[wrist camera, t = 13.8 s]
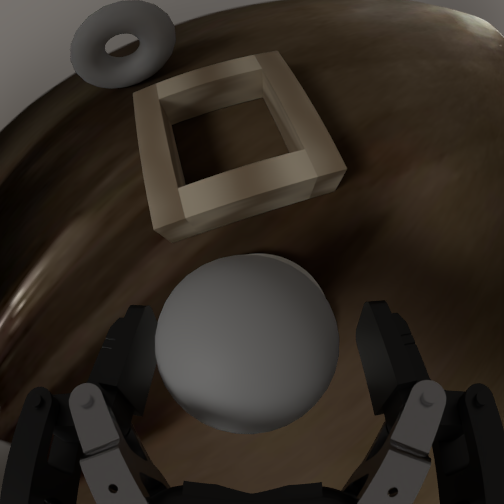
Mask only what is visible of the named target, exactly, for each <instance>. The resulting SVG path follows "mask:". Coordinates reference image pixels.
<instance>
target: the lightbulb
mask: <svg viewBox="0 0 504 504" xmlns="http://www.w3.org/2000/svg"><path fill="white" fill-rule="evenodd" d="M155 355H156V360H157V365H158V369H159V372H160V375H161V377H162V379H163V382H164V384H165V386H166V388H167V389H168V391H169V392H170V394H171V395H172V397H173V398H174V400H175V401H176V402H177V403H178V404H179V405H180V406H181V407H182V408H183V409H184V410H185V411H186V412H187V413H189V414H190V415H191V416H193V417H194V418H196V419H197V420H199V421H200V422H202V423H204V424H206V425H209V426H211V427H213V428H216V429H218V430H222V431H227V432H231V433H239V434H256V433H263V432H269V431H273V430H275V429H278V428H281V427H284V426H287V425H288V424H290V423H292V422H294V421H295V420H297V419H299V418H300V417H302V416H303V415H304V414H305V413H307V412H308V411H309V410H310V409H311V408H312V407H313V406H314V405H315V404H316V403H317V402H318V400H319V399H320V398H321V396H322V395H323V394H324V392H325V391H326V390H327V388H328V386H329V384H330V382H331V380H332V377H333V375H334V373H335V369H336V365H337V361H338V357H339V334H338V329H337V323H336V319H335V317H334V314H333V312H332V309H331V307H330V304H329V303H328V301H327V300H326V298H325V297H324V295H323V294H322V292H321V291H320V289H319V288H318V287H317V286H316V285H315V284H314V283H313V282H312V281H311V280H310V279H309V278H308V277H307V276H306V275H305V274H303V273H302V272H300V271H299V270H297V269H296V268H294V267H293V266H291V265H289V264H287V263H284V262H282V261H279V260H277V259H274V258H270V257H264V256H259V255H234V256H229V257H224V258H219V259H217V260H214V261H212V262H209V263H207V264H205V265H202V266H201V267H199V268H198V269H196V270H195V271H193V272H192V273H190V274H189V275H187V276H186V277H185V278H184V279H183V280H182V281H181V282H180V283H179V284H178V285H177V286H176V287H175V289H174V290H173V292H172V293H171V295H170V296H169V298H168V299H167V301H166V302H165V305H164V307H163V309H162V312H161V314H160V317H159V320H158V324H157V329H156V335H155Z"/></svg>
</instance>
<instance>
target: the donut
mask: <svg viewBox="0 0 504 504" xmlns="http://www.w3.org/2000/svg"><path fill="white" fill-rule="evenodd" d="M124 33H128V34H133V35H135V36H136V37H137V38H138V39H139V41H140V46H139V48H138V49H137V50H136V51H135V52H134V53H132V54H131V55H128V56H125V57H113V56H110V55H108V54H107V52H106V51H105V44H106V42H107V41H108V40H109V39H110V38H112V37H114V36H115V35H118V34H124ZM175 42H176V35H175V26H174V24H173V23H172V21H171V19H170V17H169V16H168V14H167V13H165V12H164V11H163V10H162V9H160V8H159V7H158V6H156V5H154V4H151V3H148V2H144V1H140V0H132V1H131V0H128V1H120V2H116V3H113V4H110V5H107V6H104V7H102V8H101V9H99V10H98V11H96V12H94V13H93V14H91V15H90V16H89V17H88V18H87V19H86V20H85V21H84V22H83V23H82V25H81V26H80V27H79V28H78V30H77V31H76V33H75V35H74V38H73V41H72V43H71V63H72V65H73V67H74V69H75V72H76V73H77V74H78V75H79V76H80V77H81V78H82V79H83V80H85V81H86V82H88V83H90V84H92V85H95V86H97V87H103V88H110V89H111V88H124V87H128V86H131V85H135V84H138V83H140V82H142V81H144V80H146V79H148V78H150V77H152V76H153V75H154V74H155V73H156V72H157V71H159V70H160V69H161V68H162V67H163V66H164V65H165V63H166V62H167V60H168V59H169V58H170V56H171V55H172V52H173V48H174V45H175Z"/></svg>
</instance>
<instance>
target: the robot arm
mask: <svg viewBox="0 0 504 504" xmlns="http://www.w3.org/2000/svg"><path fill="white" fill-rule="evenodd" d="M157 324H158V323H157V321H156V318H155V316H154V313H153V311H152V308H151V307H150V306H142V305H131V306H130V307H129V308H128V310H127V312H126V315H125V317H124V318H119V319H118V320H117V321H116V322H115V323H114V324H113V325H112V326H111V327H110V329H109V332H108V334H107V336H106V340H105V341H104V343H103V345H102V349H101V350H100V352H99V355H98V357H97V359H96V362H95V364H94V367H93V369H92V372H91V374H90V377H89V379H88V381H87V383H84V384H81V385H79V386H77V387H76V388H75V389H74V390H73V391H72V393H70V394H58V395H52V394H51V393H50V392H49V391H48V390H47V389H46V388H44V387H37V388H34V389H33V390H31V391H30V392H29V394H28V395H27V397H26V400H25V403H24V405H23V408H22V411H21V414H20V417H19V420H18V423H17V426H16V430H15V433H14V437H13V440H12V444H11V448H10V451H9V455H8V460H7V464H6V469H5V474H4V479H3V484H2V491H1V497H0V504H76V501H77V494H78V487H79V480H80V474H81V469H82V471H83V473H84V476H85V478H86V481H87V483H88V486H89V488H90V490H91V492H92V495H93V497H94V499H95V501H96V503H97V504H412V503H413V502H414V500H415V498H416V496H417V494H418V492H419V490H420V488H421V486H422V484H423V482H424V479H425V477H426V475H427V473H428V471H429V468H430V465H431V458H429V456H428V455H429V451H430V448H431V446H432V448H433V453H434V459H435V466H436V473H437V480H438V489H439V499H440V504H504V430H503V426H502V422H501V419H500V416H499V412H498V409H497V406H496V403H495V400H494V397H493V394H492V392H491V391H490V389H489V388H488V387H487V386H485V385H483V384H480V383H477V384H473V385H472V386H470V387H469V388H468V389H467V390H466V391H465V392H462V391H447V390H444V389H443V388H442V387H441V386H440V385H439V384H438V383H436V382H434V381H431V379H430V378H429V376H428V373H427V370H426V368H425V365H424V363H423V360H422V358H421V355H420V353H419V350H418V348H417V345H416V344H415V341H414V338H413V336H412V335H411V332H410V329H409V327H408V325H407V323H406V321H405V320H404V319H403V318H402V317H401V316H400V315H399V314H398V313H391V311H390V309H389V307H388V304H387V302H386V301H384V300H383V301H371V302H365V304H364V306H363V309H362V313H361V316H360V319H359V322H358V326H357V329H356V342H357V346H358V350H359V354H360V357H361V361H362V365H363V369H364V373H365V377H366V381H367V385H368V389H369V393H370V397H371V402H372V406H373V410H374V415H380V414H384V415H385V422H384V423H383V425H382V427H381V429H380V431H379V433H378V435H377V437H376V439H375V441H374V442H373V444H372V446H371V448H370V450H369V451H368V453H367V455H366V456H365V458H364V460H363V461H362V463H361V464H360V466H359V467H358V468H357V469H356V470H355V472H354V473H353V474H352V476H351V477H350V478H349V480H348V481H347V483H346V484H345V486H344V487H343V489H342V490H341V491H340V490H337V489H334V488H329V487H323V486H322V482H320V483H311V484H300V485H287V486H284V487H280V488H276V489H272V490H268V491H264V492H259V493H254V494H250V493H245V492H241V491H237V490H234V489H230V488H226V487H223V486H220V485H216V484H205V483H196V482H188V481H184V483H183V485H182V486H176V487H170V485H169V484H168V482H167V481H166V479H165V478H164V476H163V475H162V473H161V472H160V471H159V470H158V468H157V467H156V466H155V465H154V464H153V462H152V461H151V459H150V457H149V456H148V454H147V452H146V450H145V448H144V446H143V444H142V443H141V441H140V439H139V437H138V435H137V433H136V431H135V429H134V426H133V424H132V423H131V420H132V416H133V415H137V416H143V413H144V409H145V405H146V401H147V397H148V393H149V389H150V385H151V381H152V377H153V374H154V370H155V366H156V363H157V360H156V355H155V335H156V329H157ZM52 434H54V439H53V442H52V446H51V451H50V455H49V459H48V462H47V454H48V450H49V446H50V442H51V438H52ZM389 494H390V495H389ZM388 495H389V496H388Z"/></svg>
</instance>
